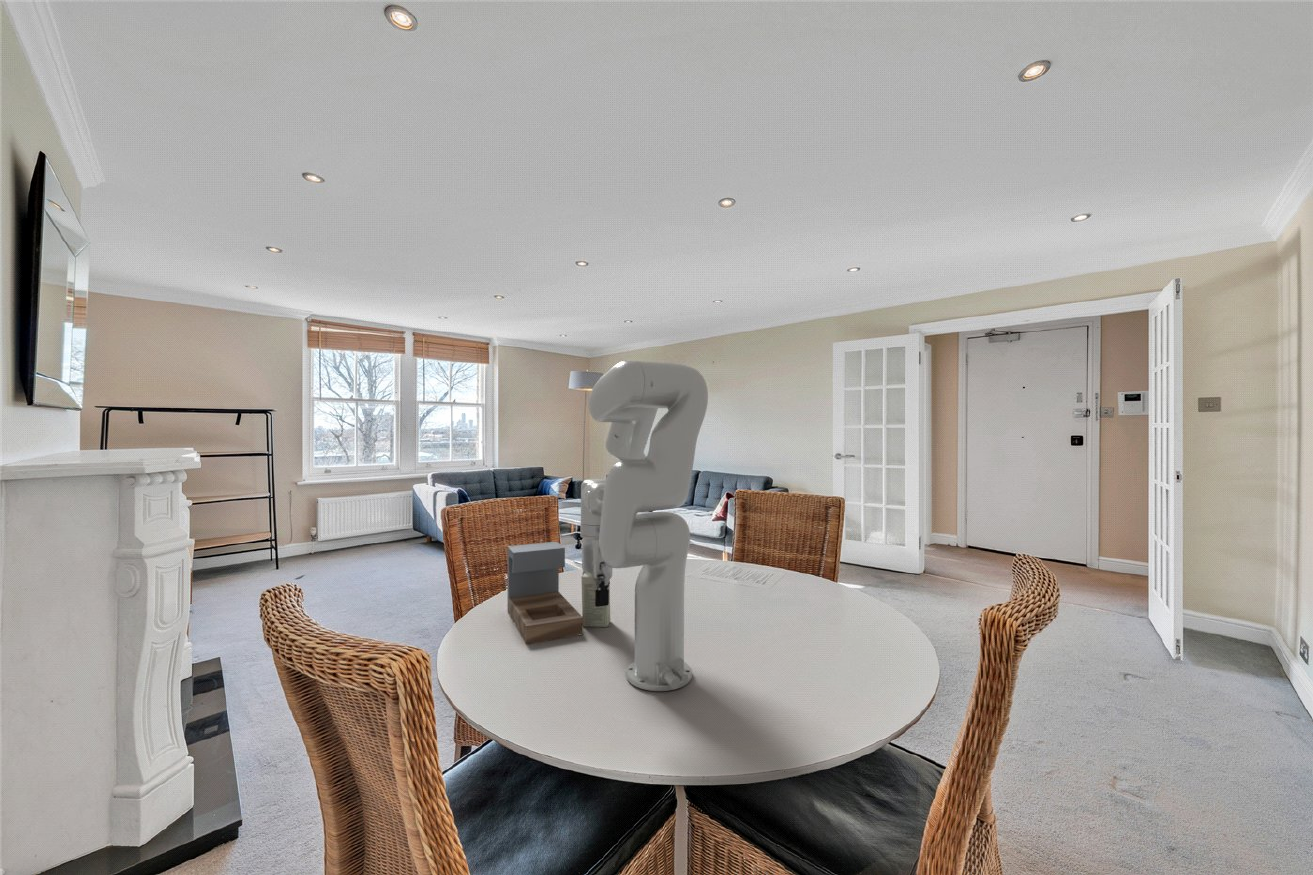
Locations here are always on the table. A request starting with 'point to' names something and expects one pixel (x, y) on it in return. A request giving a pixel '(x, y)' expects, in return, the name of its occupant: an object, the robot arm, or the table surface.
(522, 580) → the grey overhang panel
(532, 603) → the socket block
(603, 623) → the skincare box
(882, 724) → the table surface
